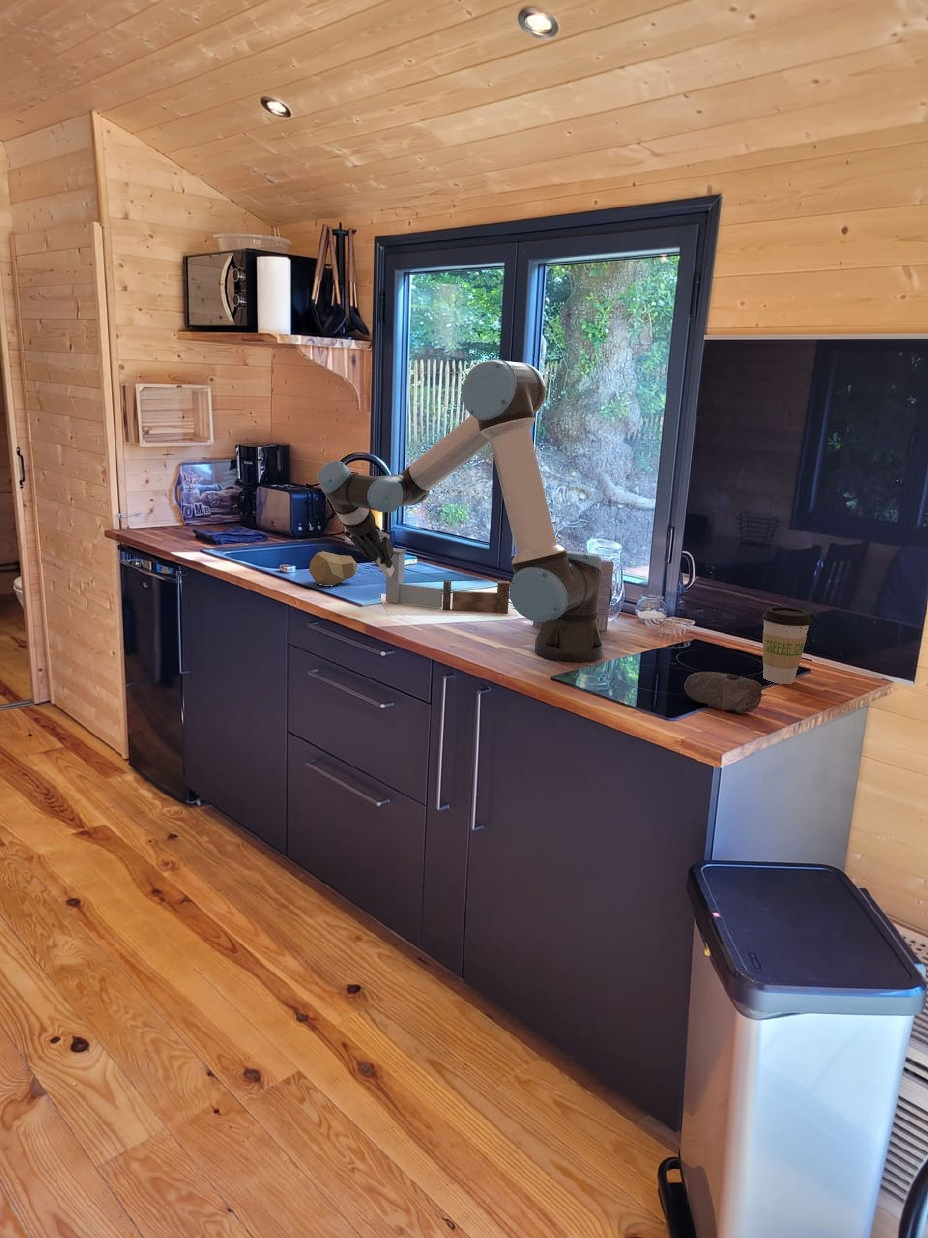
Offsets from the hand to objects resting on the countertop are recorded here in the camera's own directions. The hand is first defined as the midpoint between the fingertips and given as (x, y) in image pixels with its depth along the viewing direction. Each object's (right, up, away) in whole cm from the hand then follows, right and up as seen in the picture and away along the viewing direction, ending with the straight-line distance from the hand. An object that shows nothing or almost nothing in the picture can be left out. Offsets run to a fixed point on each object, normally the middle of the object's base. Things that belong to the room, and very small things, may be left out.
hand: (390, 572), depth 240 cm
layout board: (+15, -9, +5) cm, 18 cm away
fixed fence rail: (+22, -10, -1) cm, 24 cm away
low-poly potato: (-18, -2, +25) cm, 31 cm away
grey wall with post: (+6, -8, +3) cm, 10 cm away
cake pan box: (+46, -15, -12) cm, 50 cm away
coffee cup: (+86, -25, -46) cm, 100 cm away
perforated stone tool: (+68, -29, -65) cm, 98 cm away
